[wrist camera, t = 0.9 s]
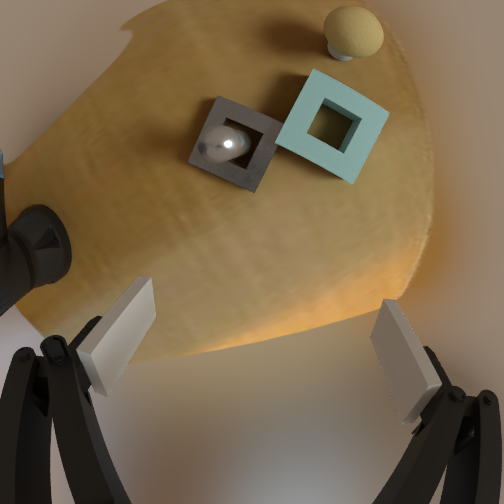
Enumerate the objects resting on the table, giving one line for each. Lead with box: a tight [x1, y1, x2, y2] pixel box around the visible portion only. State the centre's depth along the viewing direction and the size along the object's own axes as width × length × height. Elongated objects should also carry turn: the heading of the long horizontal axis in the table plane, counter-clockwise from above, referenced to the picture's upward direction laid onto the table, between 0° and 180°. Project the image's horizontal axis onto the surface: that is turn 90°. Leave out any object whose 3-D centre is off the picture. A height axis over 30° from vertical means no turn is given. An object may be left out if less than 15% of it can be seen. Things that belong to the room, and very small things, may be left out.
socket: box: [275, 69, 389, 184], centre depth 29 cm, size 10×10×4 cm
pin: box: [198, 125, 252, 163], centre depth 27 cm, size 3×3×13 cm
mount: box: [188, 96, 284, 193], centre depth 32 cm, size 9×9×2 cm
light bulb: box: [324, 6, 384, 61], centre depth 22 cm, size 6×6×10 cm
